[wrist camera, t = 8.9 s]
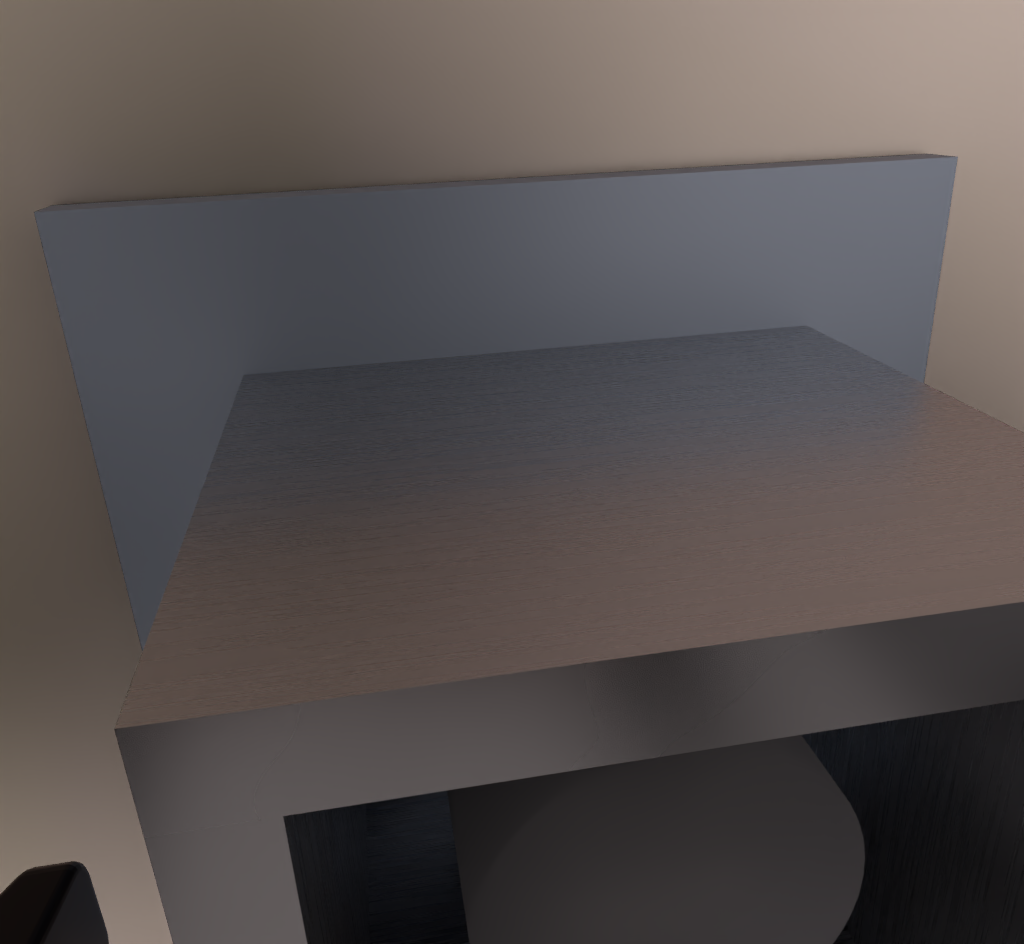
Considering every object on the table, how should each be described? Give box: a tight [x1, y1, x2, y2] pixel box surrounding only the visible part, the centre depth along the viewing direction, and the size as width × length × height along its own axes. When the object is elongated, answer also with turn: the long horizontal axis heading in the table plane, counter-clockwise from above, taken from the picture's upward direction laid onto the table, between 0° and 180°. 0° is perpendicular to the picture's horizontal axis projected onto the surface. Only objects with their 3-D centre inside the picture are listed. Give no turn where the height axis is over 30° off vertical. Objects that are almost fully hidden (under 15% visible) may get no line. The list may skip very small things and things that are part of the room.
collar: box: [115, 325, 1024, 944], centre depth 9 cm, size 7×7×6 cm
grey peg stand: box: [34, 154, 958, 944], centre depth 9 cm, size 10×10×6 cm
